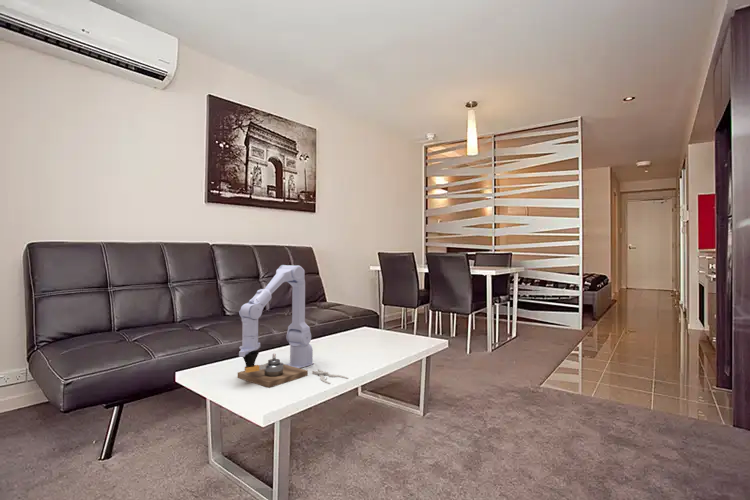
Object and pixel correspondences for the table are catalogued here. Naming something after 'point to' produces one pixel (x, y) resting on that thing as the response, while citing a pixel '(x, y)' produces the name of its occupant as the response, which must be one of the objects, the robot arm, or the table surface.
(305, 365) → the robot arm
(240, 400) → the table surface
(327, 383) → the pliers
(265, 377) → the bench block
